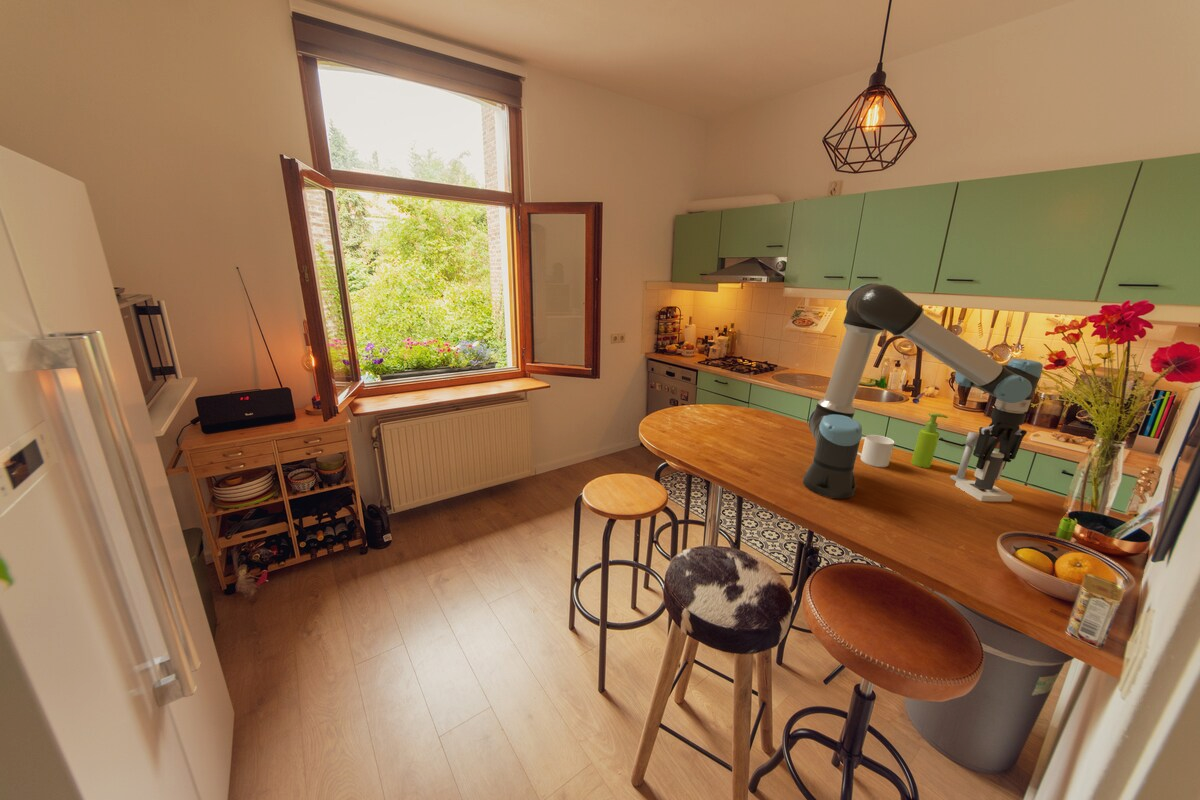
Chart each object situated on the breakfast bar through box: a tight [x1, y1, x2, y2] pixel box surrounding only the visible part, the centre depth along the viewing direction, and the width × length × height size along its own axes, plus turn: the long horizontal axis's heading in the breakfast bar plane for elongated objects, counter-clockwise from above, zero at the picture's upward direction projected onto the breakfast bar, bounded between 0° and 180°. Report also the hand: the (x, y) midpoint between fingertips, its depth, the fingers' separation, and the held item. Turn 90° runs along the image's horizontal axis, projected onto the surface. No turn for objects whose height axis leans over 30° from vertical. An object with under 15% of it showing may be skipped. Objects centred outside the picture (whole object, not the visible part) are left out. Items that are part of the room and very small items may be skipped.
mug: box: [857, 434, 895, 468], centre depth 161 cm, size 12×9×9 cm
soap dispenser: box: [910, 412, 949, 469], centre depth 157 cm, size 6×7×20 cm
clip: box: [964, 431, 1000, 450], centre depth 142 cm, size 3×14×4 cm, turn 70°
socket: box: [950, 444, 1014, 503], centre depth 141 cm, size 10×16×13 cm, turn 2°
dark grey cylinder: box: [975, 450, 1004, 490], centre depth 138 cm, size 4×4×12 cm
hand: (986, 477), depth 138 cm, fingers closed on dark grey cylinder, 4 cm apart
